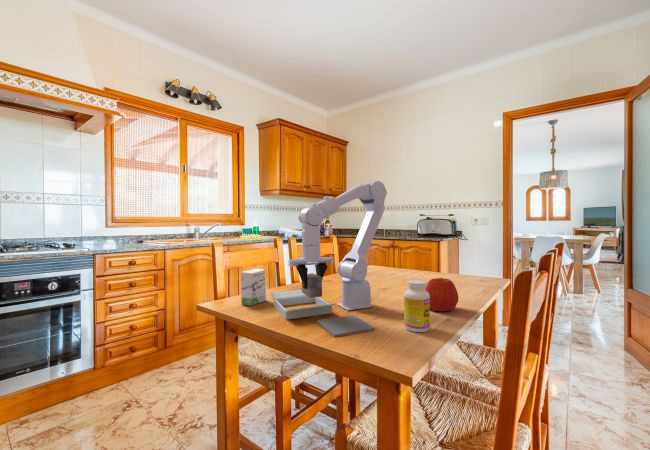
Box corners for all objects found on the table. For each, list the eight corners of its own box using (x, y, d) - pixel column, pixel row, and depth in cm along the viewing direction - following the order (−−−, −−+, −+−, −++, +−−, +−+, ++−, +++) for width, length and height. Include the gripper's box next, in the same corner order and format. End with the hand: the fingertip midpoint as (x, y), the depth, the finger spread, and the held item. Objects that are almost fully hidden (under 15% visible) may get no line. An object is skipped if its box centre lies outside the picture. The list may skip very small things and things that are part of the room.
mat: (353, 317, 93) (353, 315, 93) (374, 329, 82) (374, 327, 82) (316, 322, 88) (316, 320, 88) (334, 337, 77) (334, 334, 77)
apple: (453, 316, 92) (453, 281, 92) (418, 310, 99) (418, 278, 99) (462, 308, 101) (461, 276, 101) (429, 303, 107) (429, 273, 107)
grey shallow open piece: (311, 299, 115) (311, 288, 115) (336, 316, 94) (336, 303, 94) (271, 303, 109) (271, 292, 109) (289, 323, 88) (289, 309, 88)
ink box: (251, 306, 106) (251, 272, 106) (240, 304, 108) (240, 271, 108) (266, 300, 114) (266, 269, 113) (256, 299, 116) (255, 268, 116)
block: (313, 291, 101) (313, 273, 101) (322, 296, 94) (321, 277, 94) (302, 292, 100) (301, 274, 100) (310, 297, 92) (309, 278, 92)
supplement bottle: (426, 335, 78) (426, 285, 78) (401, 330, 81) (400, 282, 81) (432, 327, 84) (432, 280, 83) (408, 323, 87) (408, 278, 87)
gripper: (292, 247, 90) (293, 292, 90) (337, 244, 95) (337, 287, 96) (286, 245, 96) (287, 287, 97) (328, 243, 102) (329, 283, 102)
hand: (311, 287), depth 97 cm, fingers closed on block, 4 cm apart
